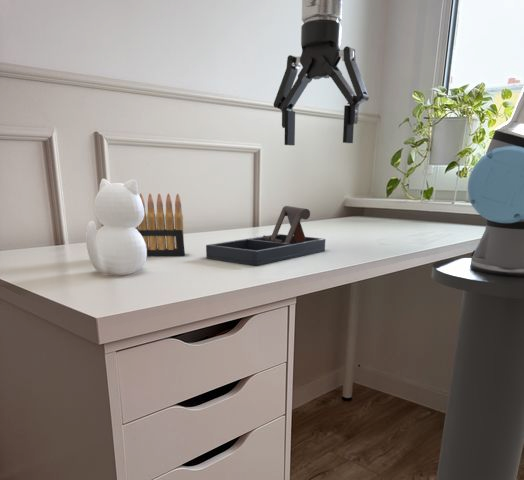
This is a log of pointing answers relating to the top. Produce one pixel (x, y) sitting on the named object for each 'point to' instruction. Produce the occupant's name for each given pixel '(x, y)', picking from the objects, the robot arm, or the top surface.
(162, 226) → the ammunition clip
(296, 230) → the tablet stand
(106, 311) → the top surface
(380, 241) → the top surface
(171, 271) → the top surface
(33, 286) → the top surface
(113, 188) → the cat figurine
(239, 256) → the divided tray
